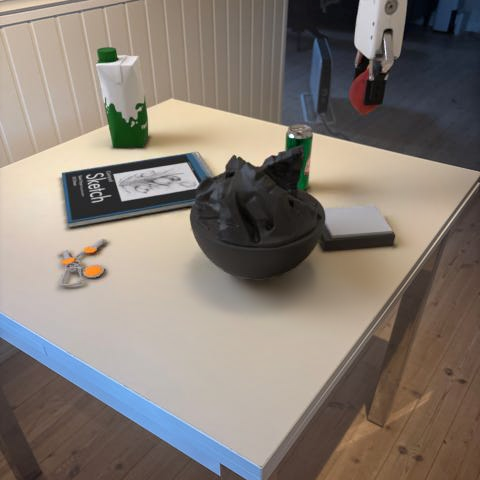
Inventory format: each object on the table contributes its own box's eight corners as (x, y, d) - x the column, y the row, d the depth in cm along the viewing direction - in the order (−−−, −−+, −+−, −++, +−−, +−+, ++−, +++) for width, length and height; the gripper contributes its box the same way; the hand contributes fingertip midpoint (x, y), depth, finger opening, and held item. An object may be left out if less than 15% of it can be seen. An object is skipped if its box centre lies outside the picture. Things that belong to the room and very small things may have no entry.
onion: (387, 116, 85) (396, 66, 80) (361, 123, 83) (369, 72, 78) (365, 107, 89) (373, 58, 83) (340, 112, 87) (346, 63, 81)
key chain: (102, 284, 75) (100, 280, 75) (53, 288, 75) (51, 284, 74) (108, 240, 85) (107, 236, 84) (65, 243, 84) (64, 239, 83)
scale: (373, 215, 90) (376, 203, 88) (393, 245, 83) (396, 232, 81) (308, 220, 89) (309, 207, 87) (322, 251, 82) (324, 237, 80)
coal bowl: (191, 309, 71) (179, 190, 58) (197, 235, 86) (188, 127, 73) (328, 306, 71) (345, 186, 59) (310, 232, 86) (321, 125, 73)
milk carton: (117, 135, 121) (100, 44, 107) (153, 135, 120) (141, 44, 107) (108, 149, 114) (89, 54, 101) (146, 149, 114) (133, 54, 100)
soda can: (309, 193, 97) (314, 133, 89) (283, 193, 97) (286, 133, 89) (307, 182, 101) (312, 123, 93) (282, 182, 101) (285, 123, 93)
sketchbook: (62, 178, 103) (60, 169, 102) (199, 158, 110) (199, 149, 109) (69, 228, 88) (66, 218, 87) (228, 201, 95) (227, 191, 93)
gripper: (434, -23, 66) (405, 114, 78) (390, -38, 79) (372, 82, 91) (379, -21, 65) (359, 117, 77) (345, -37, 78) (332, 84, 90)
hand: (366, 97), depth 84 cm, fingers closed on onion, 5 cm apart
